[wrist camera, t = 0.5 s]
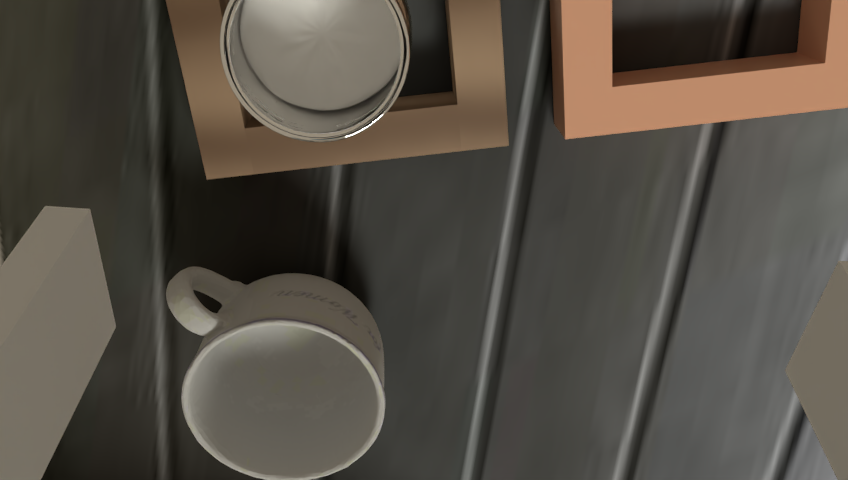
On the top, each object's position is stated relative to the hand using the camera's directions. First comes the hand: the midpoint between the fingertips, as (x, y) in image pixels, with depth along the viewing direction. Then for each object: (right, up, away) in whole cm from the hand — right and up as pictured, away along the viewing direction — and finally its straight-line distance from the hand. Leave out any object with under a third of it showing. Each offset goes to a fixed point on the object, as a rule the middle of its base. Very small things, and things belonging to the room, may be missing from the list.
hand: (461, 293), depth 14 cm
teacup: (-9, -3, +34) cm, 35 cm away
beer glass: (-5, +14, +27) cm, 30 cm away
